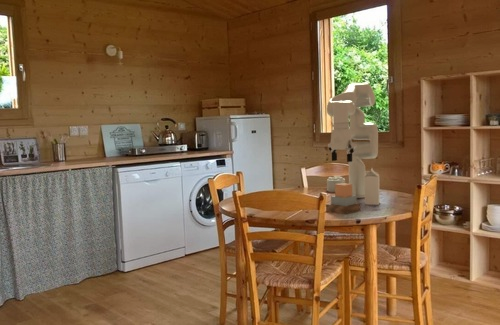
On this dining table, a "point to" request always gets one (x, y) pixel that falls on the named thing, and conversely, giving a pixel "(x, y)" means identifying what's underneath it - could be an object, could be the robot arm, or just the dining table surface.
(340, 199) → the grey square block
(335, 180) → the lumpy-topped squat cylinder
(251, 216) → the dining table surface
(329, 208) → the base block
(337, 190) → the orange cube
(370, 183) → the milk carton
